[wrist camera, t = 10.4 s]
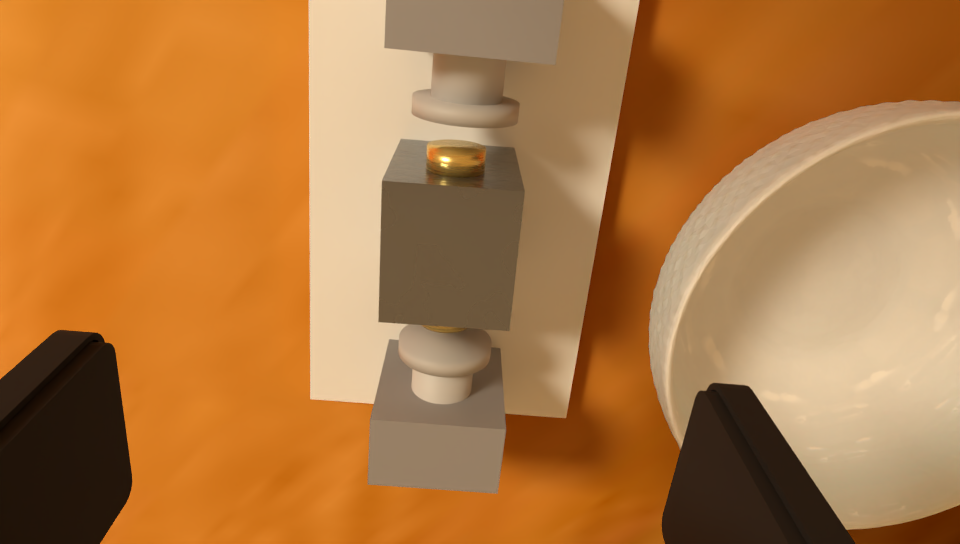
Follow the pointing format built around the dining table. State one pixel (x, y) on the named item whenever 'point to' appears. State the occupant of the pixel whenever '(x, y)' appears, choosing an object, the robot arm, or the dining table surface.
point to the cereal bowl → (832, 305)
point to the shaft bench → (544, 228)
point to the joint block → (450, 235)
